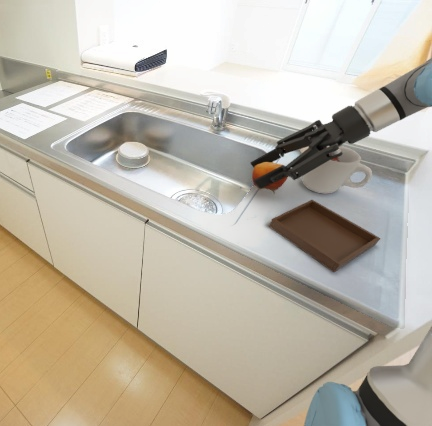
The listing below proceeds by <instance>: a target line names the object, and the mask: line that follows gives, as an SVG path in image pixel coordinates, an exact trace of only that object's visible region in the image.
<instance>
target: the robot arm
mask: <svg viewBox="0 0 432 426" xmlns="http://www.w3.org/2000/svg"><path fill="white" fill-rule="evenodd" d="M426 108H427V109H428V108H432V57H431V58H429V59H428V60H426V61H425V62H423V63H422V64H420V65H419V66H416V67H415V68H413V69H411V70H409V71H408V72H406V73H404V74H403V75H400V76H399V77H398V78H396V79H394V80H392V81H391V82H388V83H387V84H386V85H384V86H381V87H379V88H377V89H375V90H374V91H371V92H370V93H369V94H367V95H364V96H363V97H361V98H359V99H358V100H356V101H355V102H354V105H348V106H345V107H343V108H342V109H340V110H338V111H336V112H335V113H333V114H332V116H331V119H332V121H330V122H327V123H324V124H323V123H322V121H321V120H320V119H317V120H315V121H314V122H312V123H311V124H309V125H308V126H305V127H303V128H302V129H299V130H297V131H295V132H293V133H292V134H289V135H287V136H285V137H283V138H280V139H279V140H277V141H276V144H277V145H275V147H274V148H273V149H271V150H270V151H268V152H266V153H264V154H263V155H261V156H259V157H257V158H256V159H254V160H252V161H250V165H251V166H252V168H254V167H255V166H256V165H258V164H261V163H263V162H273V163H275V162H276V161H278V160H279V159H281V158H284V156H285V154H289V153H292V152H294V151H298V150H300V149H302V148H305V147H308V146H309V148H308V149H307V150H305V151H304V152H303V153H300V154H299V155H297V156H296V157H295V158H294V159H292V160H291V161H290V162H288V163H287V164H286V165H284V164H281V165H282V166H280V167H278V168H276V169H274V170H273V171H271V172H269V173H267V174H265V175H263V176H261V177H259V178H257V179H255V180H254V182H255V183H256V184H257V186H258V187H259V188H260V190H263V189H262V188H264V187H266V186H268V185H270V184H272V183H275V182H277V181H279V180H281V179H283V178H285V177H288V178H291V179H292V180H294V181H295V180H298V179H300V178H302V177H303V175H305V174H307V173H308V172H310V171H312V170H314V169H315V168H317V167H319V166H320V165H322V164H324V163H326V162H327V161H329V160H331V159H334V158H337V157H339V156H341V155H342V154H343V153H342V151H341V150H340V146H343V145H344V144H345V143H348V144H349V145H353V144H356V143H357V142H359V141H362V140H364V139H366V138H368V137H369V136H370V135H371V132H373V133H378V132H379V131H381V130H383V129H385V128H387V127H389V126H392V125H393V124H395V123H397V122H399V121H402V120H404V119H405V118H408V117H410V116H412V115H414V114H416V113H419V112H420V111H422V110H425V109H426ZM303 426H432V325H431V327H430V328H429V329H428V331H427V332H426V335H425V336H424V338H423V339H422V341H421V343H420V344H419V346H418V348H416V351H415V352H414V354H413V356H412V357H411V359H410V360H409V362H408V363H406V364H399V365H377V366H373V367H371V368H370V369H369V371H368V372H367V373H366V375H365V377H364V379H363V381H362V382H361V384H360V386H359V387H358V388H357V390H354V391H353V390H352V388H351V387H350V386H348V385H347V384H344V383H343V384H342V383H338V382H335V381H327V382H325V383H323V384H322V386H319V387H318V388H317V389H316V391H315V392H314V394H313V397H312V399H311V401H310V403H309V406H308V409H307V413H306V415H305V419H304V424H303Z"/></svg>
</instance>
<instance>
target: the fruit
mask: <svg viewBox="0 0 432 426" xmlns="http://www.w3.org/2000/svg"><path fill="white" fill-rule="evenodd" d="M282 165H283V164H281V163H277V162H263V163H261V164H258V165H256V166H255V167H253V170H252V173H251V177H252V183H253V186H255V188H257V190H258V192H259V191H261V190H268V191H270V192H273V194H274V195H276V191H277V190H279V189H280V188H281V187H282V186H283V185H284V183H285V182H286V181H287V180H288V178H289V177H285V178H283V179H281V180H279V181H277V182H275V183H272V184H270V185H268V186H266V187H264V188H262V189H260V188H259V187H258V186H257V184H256V183H255V182H254V180H255V179H257V178H259V177H261V176H263V175H265V174H267V173H269V172H271V171H273V170H274V169H276V168H278V167H280V166H282Z"/></svg>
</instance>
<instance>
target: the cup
mask: <svg viewBox="0 0 432 426" xmlns="http://www.w3.org/2000/svg"><path fill="white" fill-rule="evenodd" d="M340 150H341V151H342V153H343V154H342V155H341V156H339V157H337V158H334V159H331V160H329V161H327V162H326V163H324V164H322V165H320V166H319V167H317V168H315V169H314V170H312V171H310V172H308V173H307V174H305V175H303V176H302V177H301V179H302V181H301V182H302V184H303V186H304V187H306V188H307V189H308V190H310V191H312V192H314V193H319V194H333V193H335V192H336V191H337V190H339V189H340V188H341V187H348V188H353V189H360V188H363V186H365V185H367V184H368V183H369V181H370V180H371V178H372V176H373V171H372V169H371V168H370V167H369V166H367V165H365V164H363V163H361V161H362V157H361V155H360V154H359V153H358V152H357V151H355V150H354V149H352V148H349V147H347V146H343V145H341V146H340ZM357 172H362V173H365V177H364V178H363V179H362V180H361V181H358V182H355V181H352V180H351V178H352V176H353V175H354V174H355V173H357Z"/></svg>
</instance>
